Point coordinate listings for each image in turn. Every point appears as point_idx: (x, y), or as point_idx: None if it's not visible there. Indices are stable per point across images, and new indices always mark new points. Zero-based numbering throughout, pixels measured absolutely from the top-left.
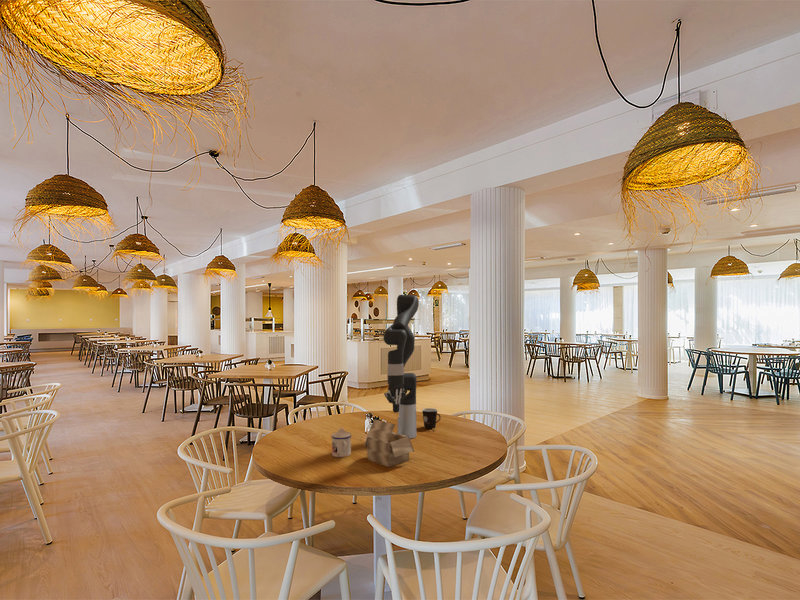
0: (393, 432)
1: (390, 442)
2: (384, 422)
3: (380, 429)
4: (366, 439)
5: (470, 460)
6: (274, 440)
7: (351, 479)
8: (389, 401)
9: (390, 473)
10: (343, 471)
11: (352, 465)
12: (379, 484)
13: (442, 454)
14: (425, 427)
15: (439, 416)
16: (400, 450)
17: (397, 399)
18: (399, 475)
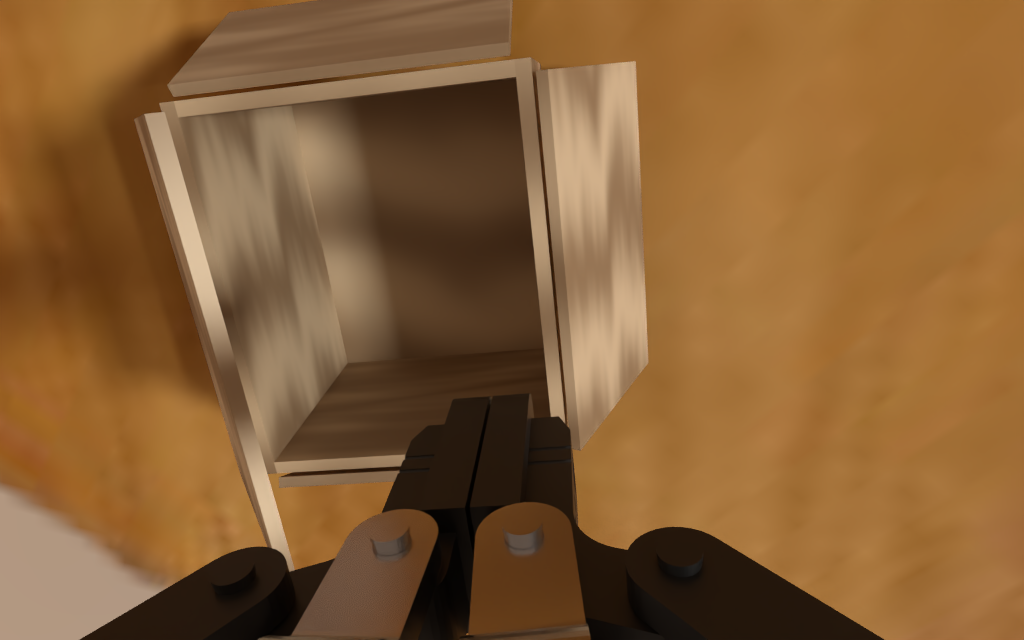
0: (554, 187)
1: (293, 464)
2: (226, 394)
3: (205, 339)
4: (190, 60)
5: (909, 624)
6: None
7: (16, 374)
8: (181, 621)
9: None
10: (3, 208)
11: (111, 134)
12: (148, 536)
13: (893, 418)
14: None
15: None
16: None
17: (634, 583)
18: (324, 514)
